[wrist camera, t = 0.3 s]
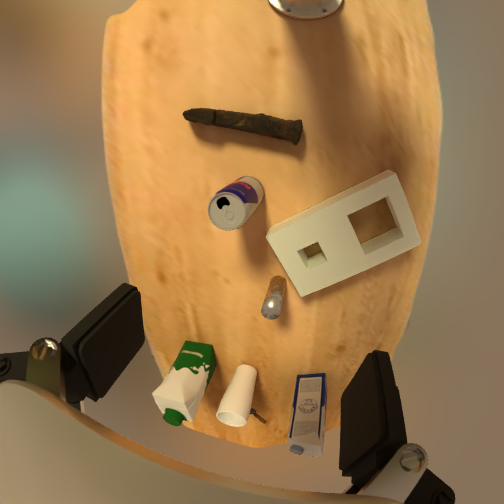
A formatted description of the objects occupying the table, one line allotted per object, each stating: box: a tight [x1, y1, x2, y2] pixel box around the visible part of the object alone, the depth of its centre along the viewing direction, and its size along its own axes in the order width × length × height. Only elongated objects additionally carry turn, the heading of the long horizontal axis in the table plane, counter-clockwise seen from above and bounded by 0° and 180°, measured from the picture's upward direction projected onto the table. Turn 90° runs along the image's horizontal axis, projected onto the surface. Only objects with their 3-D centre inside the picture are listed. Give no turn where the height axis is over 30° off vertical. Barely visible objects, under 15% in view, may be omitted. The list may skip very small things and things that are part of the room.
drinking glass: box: [216, 364, 257, 427], centre depth 55 cm, size 7×7×15 cm
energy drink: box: [208, 176, 264, 230], centre depth 38 cm, size 5×5×12 cm
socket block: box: [266, 169, 422, 297], centre depth 41 cm, size 12×22×4 cm, turn 121°
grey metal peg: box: [261, 276, 286, 320], centre depth 46 cm, size 3×3×9 cm
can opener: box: [250, 408, 266, 423], centre depth 70 cm, size 9×2×1 cm, turn 31°
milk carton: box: [287, 373, 327, 458], centre depth 51 cm, size 7×7×20 cm
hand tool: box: [183, 108, 303, 146], centre depth 37 cm, size 19×4×5 cm, turn 76°
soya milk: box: [152, 341, 216, 426], centre depth 54 cm, size 9×9×20 cm
